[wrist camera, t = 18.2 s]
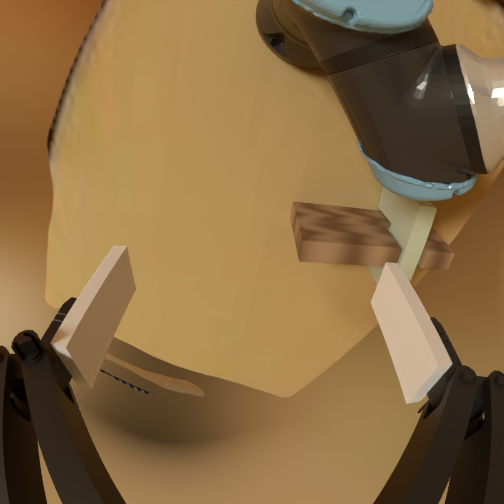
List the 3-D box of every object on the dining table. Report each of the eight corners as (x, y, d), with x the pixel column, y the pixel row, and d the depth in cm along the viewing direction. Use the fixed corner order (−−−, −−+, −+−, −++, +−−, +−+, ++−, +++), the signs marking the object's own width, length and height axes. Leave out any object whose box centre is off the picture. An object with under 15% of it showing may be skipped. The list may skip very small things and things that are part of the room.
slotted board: (290, 219, 46) (299, 261, 36) (292, 202, 45) (302, 240, 35) (416, 231, 47) (447, 269, 36) (421, 216, 45) (454, 253, 35)
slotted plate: (385, 174, 41) (419, 205, 31) (400, 177, 41) (437, 208, 31) (363, 258, 50) (384, 302, 40) (377, 259, 50) (400, 302, 40)
